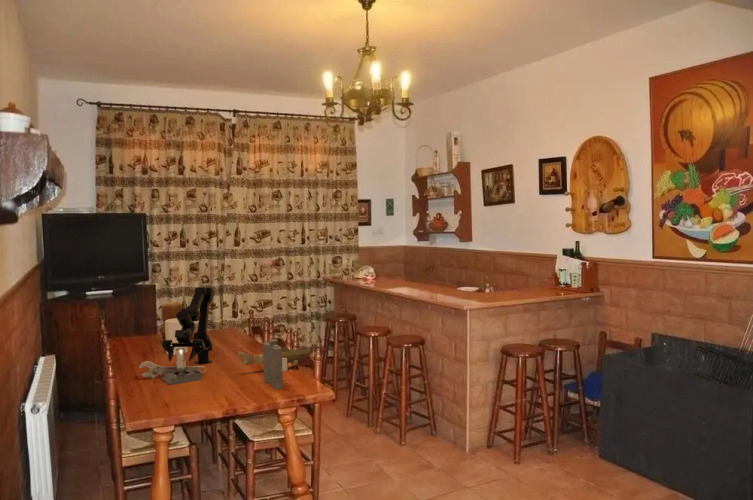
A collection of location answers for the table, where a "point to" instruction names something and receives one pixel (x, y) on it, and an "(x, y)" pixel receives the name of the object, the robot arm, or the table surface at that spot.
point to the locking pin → (180, 361)
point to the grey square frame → (181, 376)
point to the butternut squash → (169, 313)
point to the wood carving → (286, 357)
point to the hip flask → (273, 364)
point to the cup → (173, 332)
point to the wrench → (163, 369)
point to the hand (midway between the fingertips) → (179, 360)
